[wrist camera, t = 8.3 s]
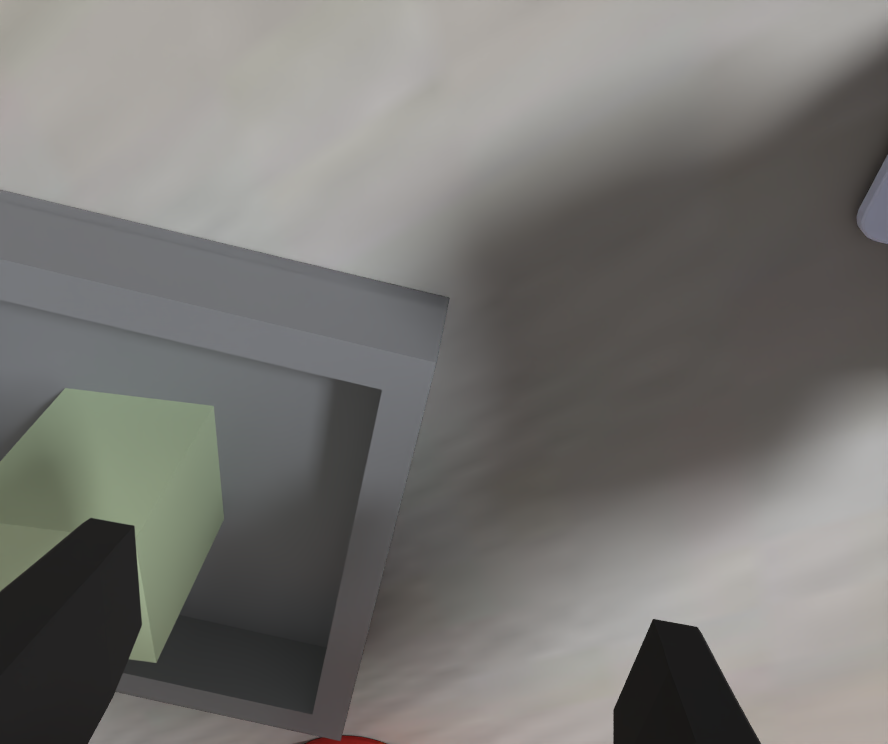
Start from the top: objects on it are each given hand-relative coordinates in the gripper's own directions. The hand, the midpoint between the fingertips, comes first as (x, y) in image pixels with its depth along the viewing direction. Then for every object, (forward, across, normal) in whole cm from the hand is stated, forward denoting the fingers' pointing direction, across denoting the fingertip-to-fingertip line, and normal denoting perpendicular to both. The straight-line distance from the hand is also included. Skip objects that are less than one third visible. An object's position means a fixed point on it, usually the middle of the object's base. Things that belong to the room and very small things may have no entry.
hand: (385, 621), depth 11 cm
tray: (+10, +7, +6) cm, 14 cm away
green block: (+9, +7, +6) cm, 13 cm away
